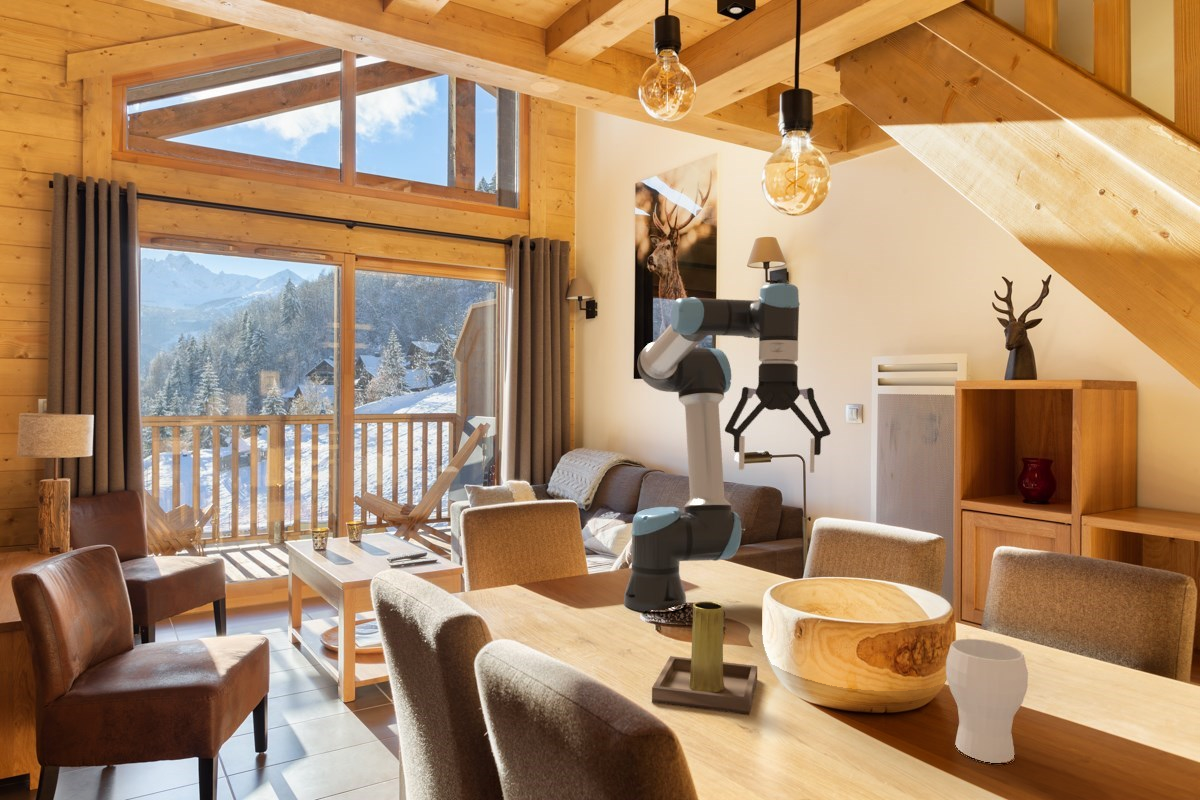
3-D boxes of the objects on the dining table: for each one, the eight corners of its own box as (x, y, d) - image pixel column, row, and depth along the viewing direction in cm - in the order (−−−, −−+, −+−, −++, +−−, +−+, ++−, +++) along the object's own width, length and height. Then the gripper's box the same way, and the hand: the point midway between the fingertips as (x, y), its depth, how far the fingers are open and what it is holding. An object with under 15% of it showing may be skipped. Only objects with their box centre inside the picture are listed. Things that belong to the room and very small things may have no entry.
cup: (930, 736, 115) (932, 637, 115) (996, 734, 116) (999, 637, 116) (970, 771, 105) (972, 662, 105) (1043, 769, 106) (1045, 661, 106)
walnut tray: (670, 669, 142) (670, 656, 142) (757, 679, 137) (757, 665, 137) (651, 702, 127) (652, 687, 127) (749, 715, 122) (749, 699, 122)
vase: (727, 683, 134) (728, 602, 134) (721, 696, 128) (722, 611, 128) (693, 678, 136) (694, 599, 136) (685, 691, 130) (687, 608, 130)
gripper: (712, 362, 150) (710, 469, 150) (845, 362, 143) (843, 475, 143) (717, 363, 157) (715, 466, 157) (843, 364, 150) (842, 471, 150)
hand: (776, 470), depth 150 cm, fingers open, 13 cm apart
